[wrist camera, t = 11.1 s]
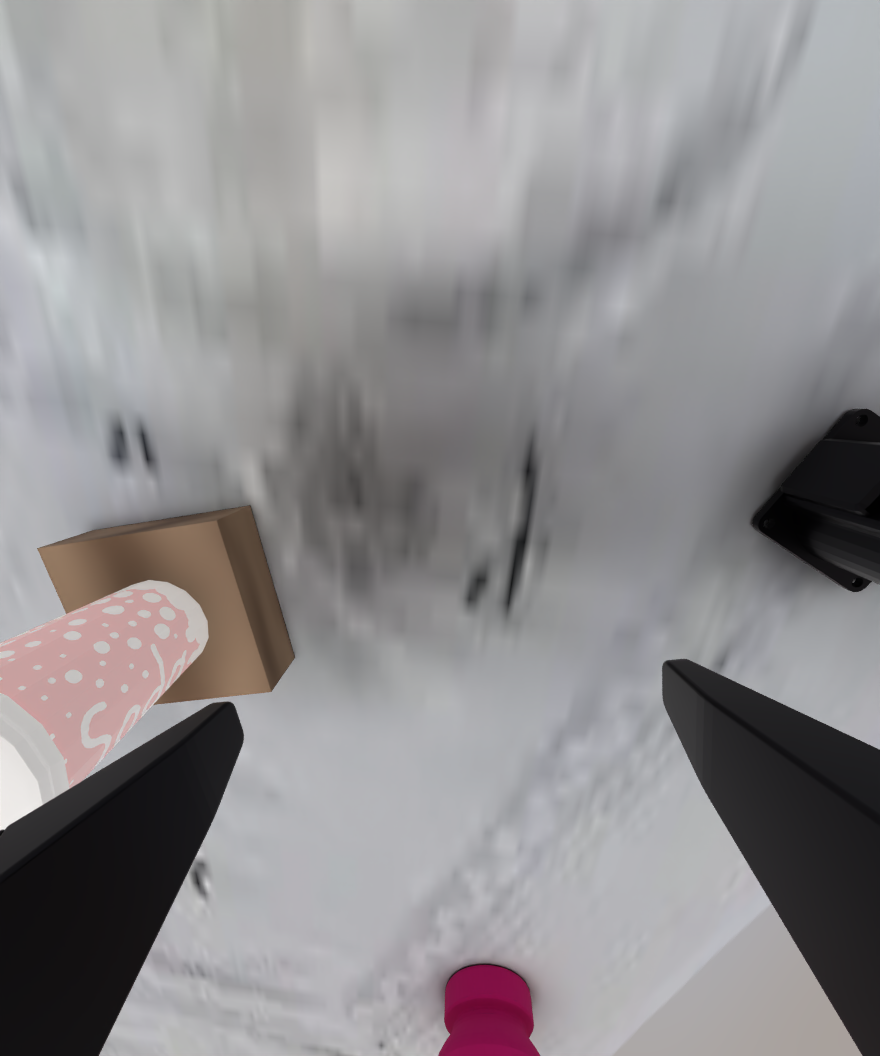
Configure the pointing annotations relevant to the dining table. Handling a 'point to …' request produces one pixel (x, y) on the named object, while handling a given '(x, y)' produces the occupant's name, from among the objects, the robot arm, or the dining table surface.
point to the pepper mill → (488, 1014)
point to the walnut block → (190, 592)
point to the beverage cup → (87, 686)
